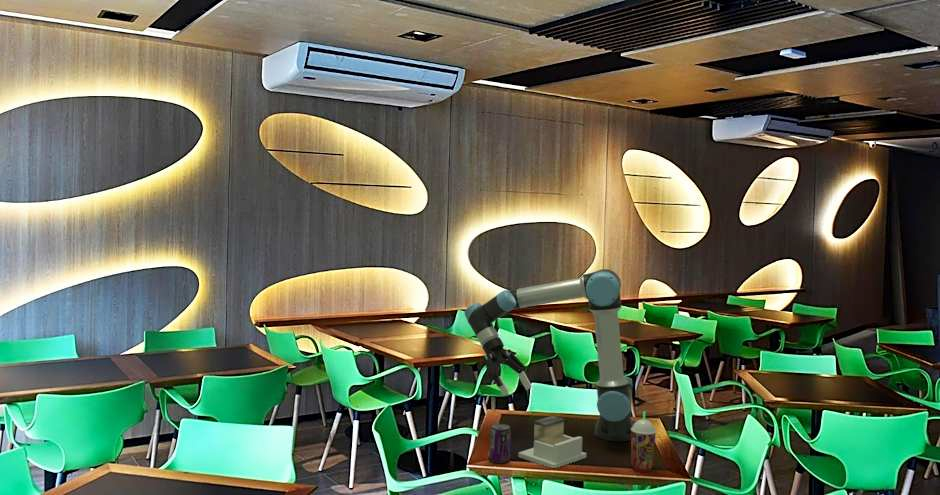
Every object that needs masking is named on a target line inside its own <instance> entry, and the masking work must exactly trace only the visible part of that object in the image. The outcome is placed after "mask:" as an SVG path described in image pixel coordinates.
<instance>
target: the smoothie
mask: <svg viewBox="0 0 940 495" xmlns="http://www.w3.org/2000/svg"><path fill="white" fill-rule="evenodd" d="M656 434H657V429H656V428H655V425H654V424H653V423H652V422H651V421H650V420H649V419H646V411H644V410H643V414H642V418H641V419H638V420H635V422H634V423H633V426H632V428H631V440H630V444H631V446H630V447H631V450H630V452H631V466H632V469H633V470H634V471H636V472H639V473H648V472H650V471H651V469H652V468H653V461H654V454H655V453H654V452H655V444H656V443H655V442H656V437H657V435H656Z"/></svg>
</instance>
